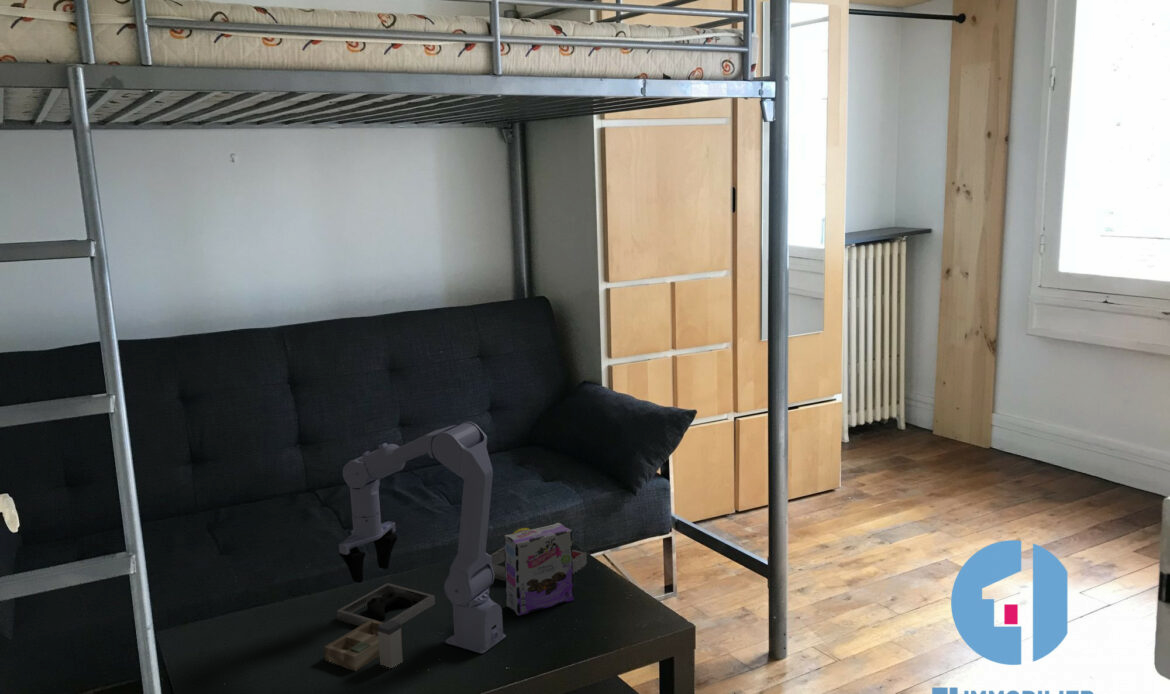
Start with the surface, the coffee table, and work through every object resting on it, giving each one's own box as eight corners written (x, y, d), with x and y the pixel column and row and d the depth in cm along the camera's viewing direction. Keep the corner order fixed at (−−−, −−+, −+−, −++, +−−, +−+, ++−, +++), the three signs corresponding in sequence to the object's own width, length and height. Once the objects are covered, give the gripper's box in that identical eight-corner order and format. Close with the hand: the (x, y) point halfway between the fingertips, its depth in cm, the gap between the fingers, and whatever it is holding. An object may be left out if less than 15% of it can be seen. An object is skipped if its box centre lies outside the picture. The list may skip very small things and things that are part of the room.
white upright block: (402, 662, 184) (400, 623, 182) (392, 669, 181) (389, 630, 180) (391, 658, 185) (388, 620, 184) (380, 665, 183) (377, 626, 181)
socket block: (402, 641, 192) (401, 626, 191) (355, 671, 181) (354, 655, 180) (372, 632, 196) (371, 617, 195) (325, 661, 185) (324, 645, 184)
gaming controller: (382, 619, 200) (367, 595, 202) (371, 631, 203) (357, 608, 205) (416, 602, 207) (401, 579, 209) (405, 614, 210) (391, 591, 212)
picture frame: (434, 604, 208) (434, 595, 208) (385, 634, 195) (384, 625, 194) (388, 591, 215) (387, 582, 214) (337, 619, 202) (336, 610, 201)
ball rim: (586, 564, 226) (586, 552, 226) (548, 591, 213) (547, 579, 212) (519, 549, 237) (518, 538, 236) (478, 574, 223) (477, 562, 222)
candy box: (518, 617, 201) (515, 543, 198) (505, 606, 206) (502, 534, 203) (574, 600, 208) (572, 529, 205) (561, 591, 213) (559, 521, 210)
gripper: (376, 499, 206) (381, 558, 209) (326, 521, 194) (331, 583, 196) (401, 504, 202) (405, 564, 205) (351, 526, 190) (356, 590, 193)
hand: (370, 574), depth 200 cm, fingers open, 7 cm apart
